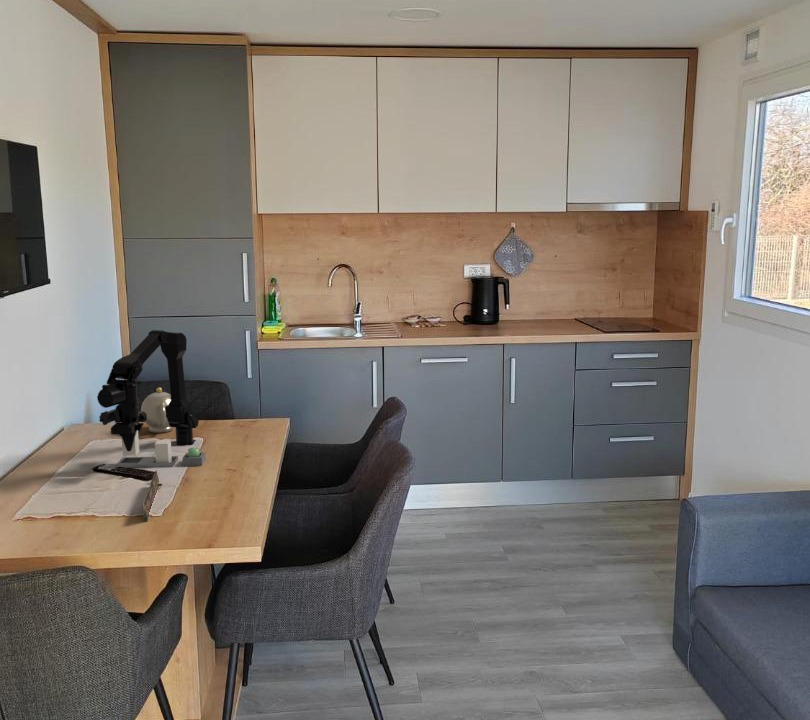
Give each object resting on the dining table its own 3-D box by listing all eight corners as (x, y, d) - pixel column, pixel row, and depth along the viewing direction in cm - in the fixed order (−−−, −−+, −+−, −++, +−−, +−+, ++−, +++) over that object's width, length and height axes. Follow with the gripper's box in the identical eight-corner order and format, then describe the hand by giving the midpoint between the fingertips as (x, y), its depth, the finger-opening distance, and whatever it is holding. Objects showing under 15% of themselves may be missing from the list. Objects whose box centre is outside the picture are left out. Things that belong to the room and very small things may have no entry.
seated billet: (159, 461, 255) (157, 440, 254) (171, 461, 255) (170, 440, 254) (155, 465, 251) (154, 443, 250) (168, 465, 251) (167, 443, 250)
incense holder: (148, 522, 207) (147, 502, 206) (143, 522, 207) (142, 503, 206) (161, 485, 236) (160, 468, 235) (157, 485, 236) (156, 468, 235)
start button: (189, 457, 255) (189, 447, 254) (200, 457, 255) (200, 447, 254) (187, 460, 252) (187, 450, 251) (198, 460, 252) (198, 450, 251)
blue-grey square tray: (129, 453, 267) (129, 450, 267) (159, 453, 268) (159, 449, 267) (120, 462, 257) (120, 459, 257) (152, 462, 258) (151, 458, 258)
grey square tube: (186, 463, 256) (186, 452, 256) (205, 462, 257) (205, 452, 256) (182, 469, 251) (182, 458, 250) (202, 468, 251) (201, 457, 250)
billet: (139, 451, 254) (138, 430, 253) (135, 455, 250) (134, 433, 249) (126, 451, 254) (125, 430, 253) (122, 455, 250) (121, 433, 249)
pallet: (124, 463, 256) (123, 456, 256) (178, 462, 257) (178, 455, 257) (116, 471, 248) (116, 464, 248) (172, 470, 249) (172, 463, 249)
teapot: (140, 427, 301) (137, 385, 298) (177, 424, 306) (175, 382, 304) (145, 439, 285) (142, 394, 282) (184, 435, 290) (182, 391, 287)
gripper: (110, 394, 258) (113, 441, 260) (91, 408, 239) (95, 458, 242) (145, 394, 258) (148, 440, 261) (129, 407, 240) (132, 457, 243)
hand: (131, 449), depth 252 cm, fingers closed on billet, 4 cm apart
